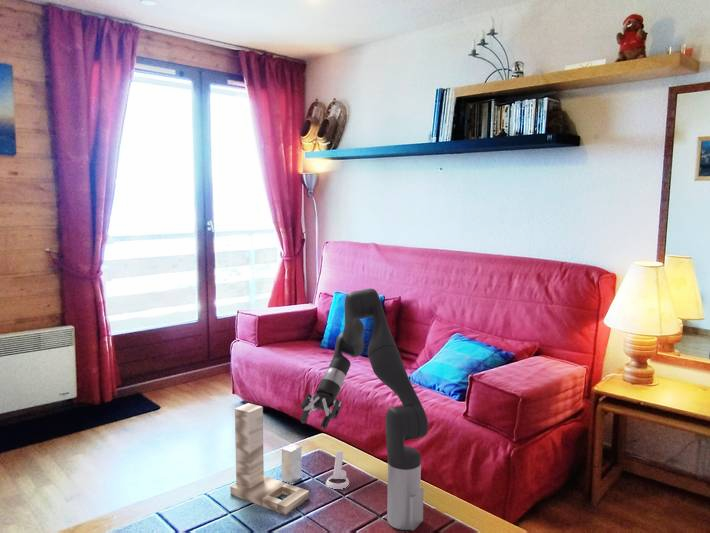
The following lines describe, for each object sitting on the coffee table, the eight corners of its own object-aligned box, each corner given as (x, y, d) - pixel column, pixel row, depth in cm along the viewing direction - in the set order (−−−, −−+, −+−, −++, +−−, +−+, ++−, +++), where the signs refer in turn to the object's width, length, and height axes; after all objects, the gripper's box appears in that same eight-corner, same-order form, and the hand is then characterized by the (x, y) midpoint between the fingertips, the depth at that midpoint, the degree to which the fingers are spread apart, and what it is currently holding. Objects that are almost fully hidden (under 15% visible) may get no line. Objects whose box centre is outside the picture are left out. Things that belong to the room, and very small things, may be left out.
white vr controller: (348, 456, 186) (354, 452, 180) (345, 494, 180) (351, 491, 174) (326, 453, 185) (331, 449, 179) (323, 491, 178) (328, 488, 173)
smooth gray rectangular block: (301, 478, 181) (301, 446, 180) (291, 484, 177) (291, 451, 176) (291, 475, 183) (291, 443, 182) (282, 481, 179) (281, 448, 178)
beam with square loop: (309, 498, 168) (308, 414, 166) (285, 515, 159) (284, 425, 157) (255, 480, 180) (253, 400, 178) (230, 494, 171) (228, 411, 168)
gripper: (311, 374, 198) (290, 415, 190) (344, 381, 190) (324, 424, 182) (319, 385, 203) (300, 425, 195) (352, 392, 195) (333, 434, 187)
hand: (312, 425), depth 188 cm, fingers open, 8 cm apart
